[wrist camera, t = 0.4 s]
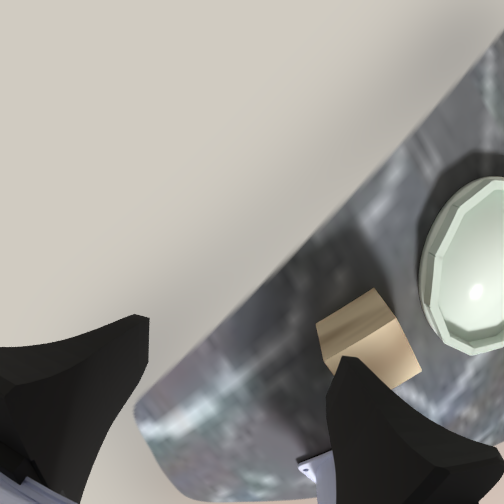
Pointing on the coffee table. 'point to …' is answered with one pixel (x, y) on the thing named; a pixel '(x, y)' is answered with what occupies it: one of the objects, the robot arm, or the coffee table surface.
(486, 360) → the coffee table surface
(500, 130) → the coffee table surface
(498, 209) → the celadon dish
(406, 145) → the coffee table surface
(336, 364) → the birch block
